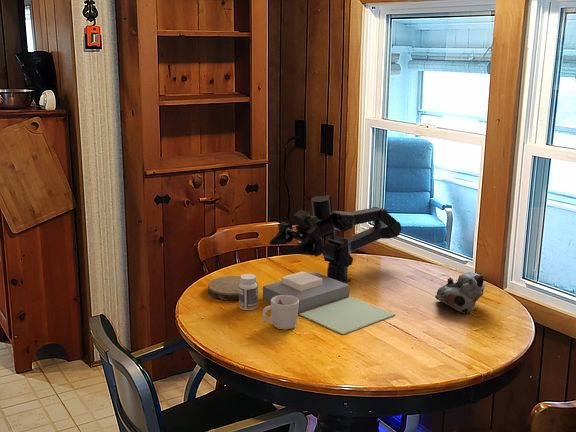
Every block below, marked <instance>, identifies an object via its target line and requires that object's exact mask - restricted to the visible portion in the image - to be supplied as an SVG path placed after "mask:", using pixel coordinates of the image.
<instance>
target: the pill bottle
mask: <svg viewBox="0 0 576 432" xmlns="http://www.w3.org/2000/svg"><path fill="white" fill-rule="evenodd" d="M240 280H241V283H240V284H239V301H238V305H239V306H238V308H240V310H244V311H254V310H257V309H258V306H259V296H258V295H259V284H258V285H257V283H258V282H257V276H256V275H255V274H252V273H244V274H241V277H240ZM255 281H256V282H257V283H256V282H255Z"/></svg>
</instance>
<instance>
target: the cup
mask: <svg viewBox="0 0 576 432" xmlns="http://www.w3.org/2000/svg"><path fill="white" fill-rule="evenodd" d="M298 307H299V299H298V298H296V297H294V296H290V295H278V296H275V297H273V298H272V299H271V302H270V305H267V306H264V308H263V310H262V313H261V314H262V319H263V321H264V322H266V323H272V325H273V326H274V327H275V328H277V329H280V330H283V331H284V330H286V331H287V330H291V329H293V328H295V326H296V325H297V320H298ZM268 311H270V312H271V313H270V317H269V318H268V317H267V312H268Z"/></svg>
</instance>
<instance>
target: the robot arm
mask: <svg viewBox="0 0 576 432" xmlns="http://www.w3.org/2000/svg"><path fill="white" fill-rule="evenodd" d="M310 201H311V207H312V214H311V213H310V212H308V211H306V210H302V209H299V211H297V212H296V213H295V214H293V216H292V217H293V219H294V220H295V222H296V224H297V225H295V230H294V229H293V225H291V224H290V223H288V222H286V221H282V222H279V223H278V224H277V227H278V228H277V229H278V232H277V233H276V235H275V236H274V237H272V239H271V240H269V246H278V245H287V244H288V243H291V242H293V239H295V240H296V241H298V242H297V244H296V245H294V246H293V247H291V248H289V249H288V250H287V252H288V253H287V254H290V255H302V256H303V255H304V256H311V257H312V256H314V257H319V256H320V255H322V256H323V259H324V261H325V262H328V264H327V270H326V271H327V272H326V273H327V274H326V276H327V277H330V278H332V279H335V280H337V281H340V282H343V283H348V282H351V281H352V279H351V278H349V277H348V270H349V267H350V266H351V265H353V261H354V258H353V256H351V253H352V252H354V251H356V250H359V249H361V248H364V247H366V246H367V245H371V244H372V243H374V242H377V241H379V240H381V239H383V240H384V239H388V240H389V239H395V238H397V237H399V236H400V234H401V232H402V225H401V223H400V222H399V221H398V220H396V218H394V217H393V216H392V215H391V214H390V213H389V212H388V211H387V210H386V209H385V208H383V207H379V206H372V207H369V208H364V209H359V210H355V211H350V212H349V211H344V210H343V211H341V210H333V204H332V201H333V200H332V196H331V195H328V194H326V195H319V196H317V195H316V196H313V197H312V198H311V200H310ZM370 222H372V223H373V226H372V227H370V228H367V229H365V230H363V231H360V232H359V233H356V234H354V235H351V236H348V237H346V238H344V237H341V236H338V235H336V234H337V233H336V231H335V230H337V231H340V232H347V231H349V230H352V229H353V228H354V226H356V225H361V224H366V223H370ZM324 238H326V239H327V241H325V242H324V243H323V239H324Z"/></svg>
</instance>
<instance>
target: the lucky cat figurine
mask: <svg viewBox="0 0 576 432" xmlns="http://www.w3.org/2000/svg"><path fill="white" fill-rule="evenodd" d="M484 276H485V275H484V274H478V273H476V272H474V271H472V272H471V271H466V272H464V273H462V274H460V275H459V276H458V279H457V281H456V282H454V279H453V278H452V277H451V276H449V278H447V283H446V284H444V285H441V286H440V287H438V290H437V291H436V295H435V296H434V298H435V299H436V300H437V301H440V302H442V303H444V304H445V305H448V306H449V307H450V308H452V309H454V310H455V311H458V312H460V313H462V314H464V315H465V314H468V315H471V313H472V312H473V311H474V310H475V307H476V302H478V300H480V298H481V297H482V296H484V290H485V287H486V284H485V283H484V281H485V280H484Z"/></svg>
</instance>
